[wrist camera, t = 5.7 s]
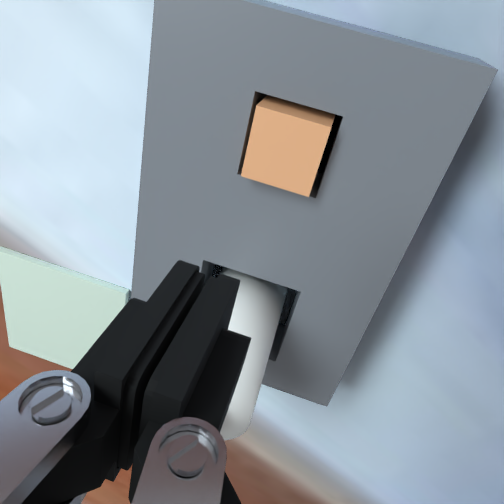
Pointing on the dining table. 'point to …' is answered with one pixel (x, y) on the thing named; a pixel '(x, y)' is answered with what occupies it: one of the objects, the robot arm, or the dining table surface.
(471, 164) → the dining table surface
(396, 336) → the dining table surface
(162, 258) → the housing
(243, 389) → the cylinder
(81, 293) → the mat
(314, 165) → the tan cube
